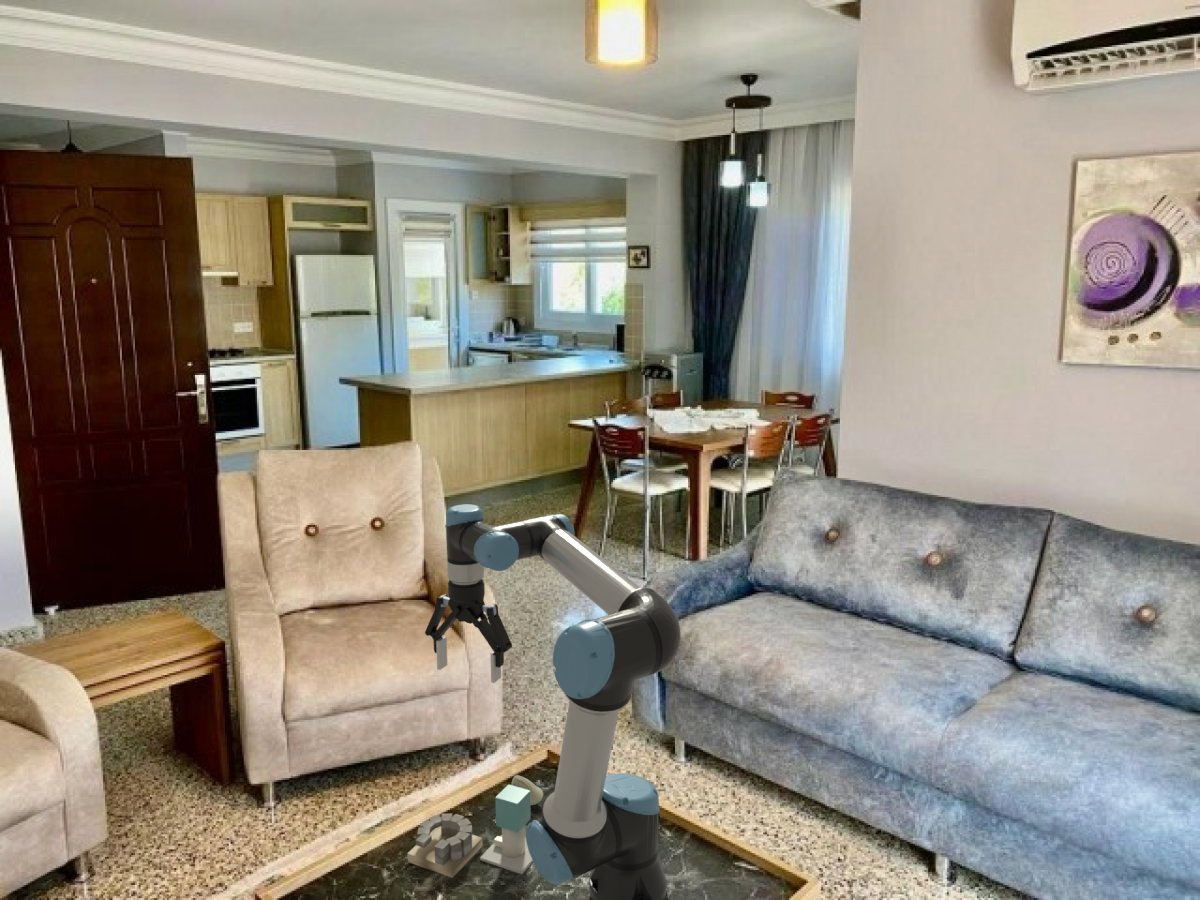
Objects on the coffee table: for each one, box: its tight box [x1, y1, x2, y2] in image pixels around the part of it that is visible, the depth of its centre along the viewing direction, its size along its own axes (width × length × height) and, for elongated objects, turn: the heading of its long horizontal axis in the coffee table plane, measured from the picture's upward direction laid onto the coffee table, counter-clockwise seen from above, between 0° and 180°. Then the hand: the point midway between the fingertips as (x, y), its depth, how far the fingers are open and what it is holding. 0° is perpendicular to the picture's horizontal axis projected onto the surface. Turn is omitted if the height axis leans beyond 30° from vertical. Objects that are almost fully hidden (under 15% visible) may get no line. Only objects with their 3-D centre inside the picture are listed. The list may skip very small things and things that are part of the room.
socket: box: [406, 813, 483, 879], centre depth 189 cm, size 11×11×6 cm
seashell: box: [510, 774, 544, 807], centre depth 206 cm, size 8×8×8 cm
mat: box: [479, 834, 534, 875], centre depth 190 cm, size 10×10×1 cm
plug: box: [493, 784, 532, 858], centre depth 189 cm, size 7×5×13 cm
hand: (468, 673), depth 194 cm, fingers open, 13 cm apart
